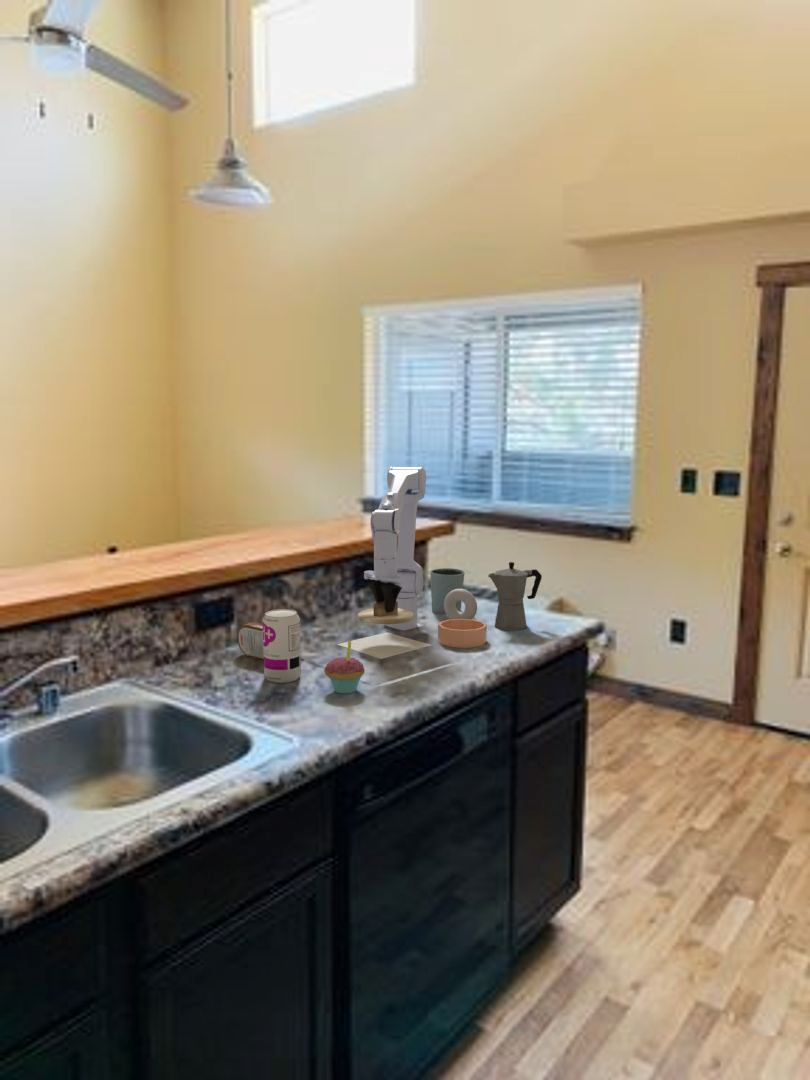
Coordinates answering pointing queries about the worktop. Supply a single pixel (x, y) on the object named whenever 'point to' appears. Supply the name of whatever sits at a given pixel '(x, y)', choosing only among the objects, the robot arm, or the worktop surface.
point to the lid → (385, 615)
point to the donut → (466, 599)
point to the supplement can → (281, 646)
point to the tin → (251, 639)
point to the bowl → (462, 633)
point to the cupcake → (344, 672)
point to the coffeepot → (513, 596)
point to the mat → (384, 645)
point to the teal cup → (445, 587)
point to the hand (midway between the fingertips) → (385, 610)
